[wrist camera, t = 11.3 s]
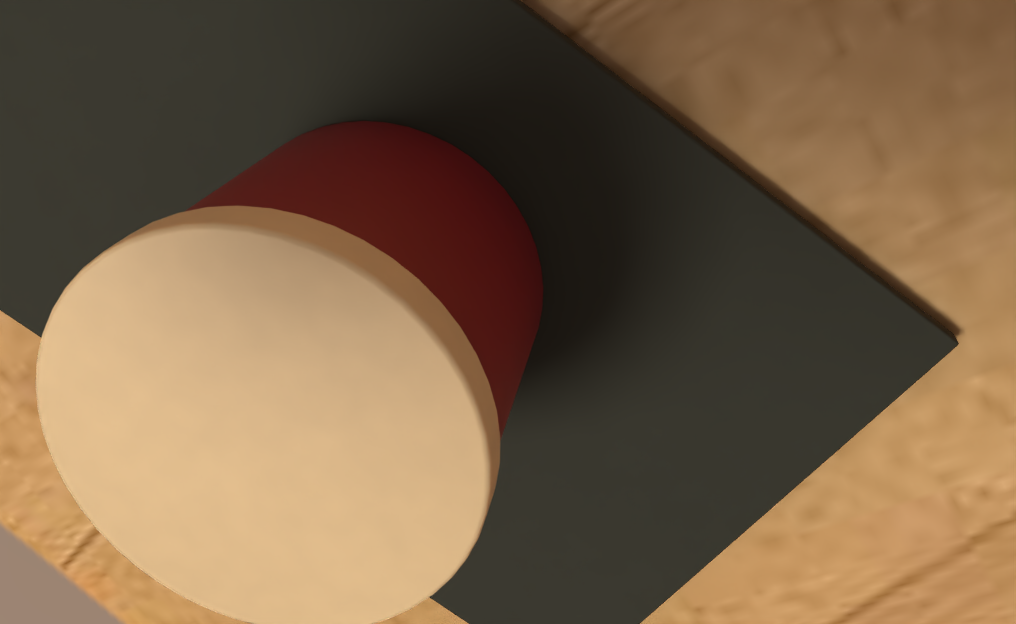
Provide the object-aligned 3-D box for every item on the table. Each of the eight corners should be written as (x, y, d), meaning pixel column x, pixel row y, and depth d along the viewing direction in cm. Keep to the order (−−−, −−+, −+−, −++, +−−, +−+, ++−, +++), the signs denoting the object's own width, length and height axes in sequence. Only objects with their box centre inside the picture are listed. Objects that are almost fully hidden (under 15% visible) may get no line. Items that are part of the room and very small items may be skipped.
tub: (622, 258, 17) (590, 432, 12) (431, 481, 20) (338, 700, 15) (322, 35, 17) (145, 116, 11) (169, 301, 20) (-29, 465, 14)
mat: (955, 334, 17) (960, 344, 17) (567, 676, 23) (565, 689, 22) (119, -309, 15) (106, -313, 15) (-91, 235, 20) (-105, 241, 20)
